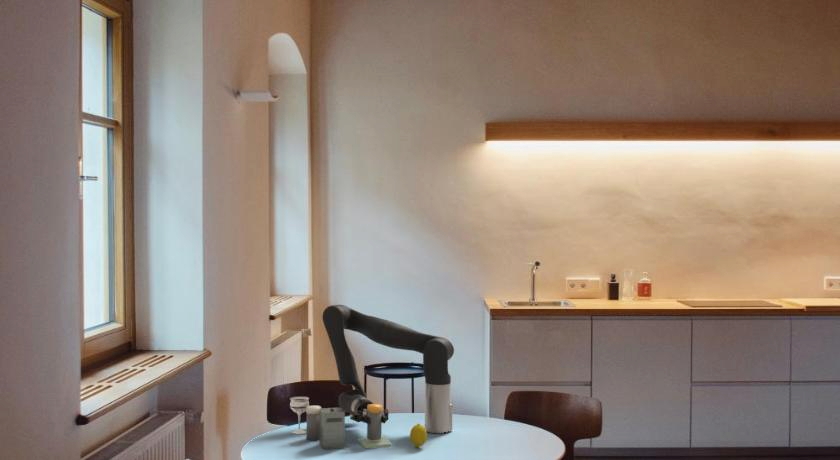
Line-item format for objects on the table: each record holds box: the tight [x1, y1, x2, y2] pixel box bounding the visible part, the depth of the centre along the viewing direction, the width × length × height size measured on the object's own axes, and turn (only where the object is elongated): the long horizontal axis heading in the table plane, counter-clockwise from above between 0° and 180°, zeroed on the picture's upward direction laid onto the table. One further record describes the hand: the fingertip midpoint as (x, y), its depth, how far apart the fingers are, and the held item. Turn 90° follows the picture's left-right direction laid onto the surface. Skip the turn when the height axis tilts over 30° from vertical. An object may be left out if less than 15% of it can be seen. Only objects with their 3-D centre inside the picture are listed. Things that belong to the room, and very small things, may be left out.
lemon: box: [409, 423, 428, 449], centre depth 259 cm, size 6×6×8 cm
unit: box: [318, 406, 346, 451], centre depth 260 cm, size 7×8×13 cm
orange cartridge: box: [366, 403, 383, 440], centre depth 264 cm, size 5×5×11 cm
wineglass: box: [289, 396, 310, 435], centre depth 278 cm, size 7×7×12 cm
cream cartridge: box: [305, 405, 322, 442], centre depth 269 cm, size 5×5×11 cm
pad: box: [358, 436, 392, 449], centre depth 263 cm, size 9×9×1 cm
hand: (376, 420), depth 261 cm, fingers closed on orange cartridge, 4 cm apart
